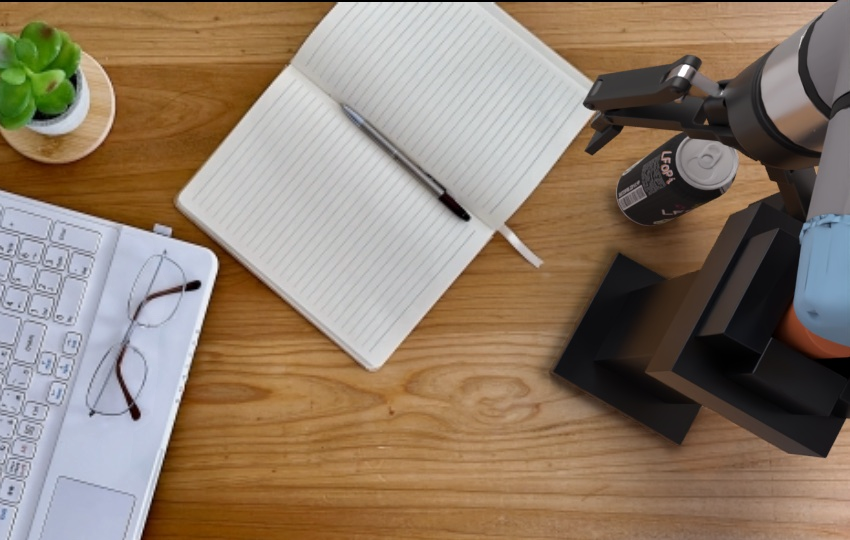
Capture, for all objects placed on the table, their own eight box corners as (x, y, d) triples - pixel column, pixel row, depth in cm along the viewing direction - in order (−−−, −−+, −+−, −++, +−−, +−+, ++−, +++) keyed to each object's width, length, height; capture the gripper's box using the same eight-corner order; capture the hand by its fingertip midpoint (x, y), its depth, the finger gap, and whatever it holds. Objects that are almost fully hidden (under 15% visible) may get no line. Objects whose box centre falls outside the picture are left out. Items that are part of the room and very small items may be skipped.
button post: (674, 444, 73) (882, 473, 47) (548, 372, 74) (680, 359, 48) (739, 323, 74) (977, 284, 48) (613, 253, 75) (777, 178, 49)
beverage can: (691, 189, 76) (763, 151, 64) (655, 240, 75) (720, 211, 63) (636, 152, 76) (696, 107, 65) (600, 203, 76) (654, 167, 64)
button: (822, 372, 50) (860, 370, 46) (758, 337, 50) (791, 332, 47) (853, 313, 50) (892, 307, 47) (789, 278, 50) (823, 270, 47)
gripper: (1055, 142, 49) (830, 215, 70) (657, -59, 52) (556, 70, 73) (997, 254, 48) (788, 294, 69) (598, 45, 51) (513, 144, 72)
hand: (669, 179), depth 71 cm, fingers open, 13 cm apart
